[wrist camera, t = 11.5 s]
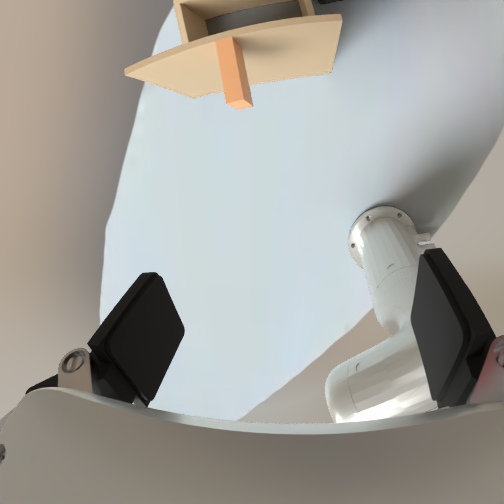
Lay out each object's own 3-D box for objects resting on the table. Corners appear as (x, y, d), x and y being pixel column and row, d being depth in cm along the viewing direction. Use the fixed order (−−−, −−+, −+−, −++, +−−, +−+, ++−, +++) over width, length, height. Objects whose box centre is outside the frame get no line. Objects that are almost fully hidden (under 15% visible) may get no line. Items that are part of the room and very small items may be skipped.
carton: (302, -5, 28) (301, -30, 19) (322, 74, 34) (328, 67, 26) (199, 17, 32) (173, 0, 23) (217, 93, 38) (194, 93, 30)
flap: (340, 13, 13) (360, 84, 15) (330, 68, 26) (339, 113, 27) (124, 69, 17) (131, 132, 19) (192, 94, 30) (200, 136, 32)
